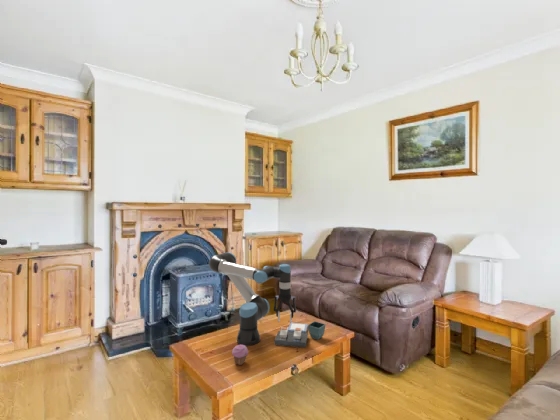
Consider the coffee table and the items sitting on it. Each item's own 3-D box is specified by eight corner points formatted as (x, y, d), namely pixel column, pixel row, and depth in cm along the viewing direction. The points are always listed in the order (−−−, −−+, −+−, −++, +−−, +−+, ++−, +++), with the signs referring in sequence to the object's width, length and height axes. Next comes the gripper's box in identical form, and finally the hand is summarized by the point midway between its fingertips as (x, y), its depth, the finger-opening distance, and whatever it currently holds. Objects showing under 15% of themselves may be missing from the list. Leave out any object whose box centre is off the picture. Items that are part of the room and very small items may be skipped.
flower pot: (319, 342, 199) (319, 328, 198) (307, 338, 204) (307, 325, 204) (325, 337, 206) (325, 324, 205) (314, 333, 211) (314, 321, 211)
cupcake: (229, 364, 171) (229, 346, 171) (238, 357, 178) (238, 340, 178) (241, 368, 166) (241, 350, 166) (251, 361, 174) (251, 344, 174)
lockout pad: (287, 332, 214) (287, 329, 214) (290, 324, 226) (290, 322, 226) (306, 333, 211) (306, 331, 211) (307, 325, 224) (307, 323, 224)
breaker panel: (274, 344, 194) (274, 338, 194) (278, 335, 208) (278, 329, 208) (305, 347, 191) (305, 340, 191) (307, 337, 205) (307, 331, 205)
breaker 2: (293, 338, 196) (293, 335, 195) (295, 330, 203) (294, 327, 203) (300, 339, 195) (300, 336, 194) (301, 330, 202) (301, 328, 202)
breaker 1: (279, 337, 197) (279, 334, 197) (281, 329, 205) (281, 326, 204) (286, 337, 196) (286, 335, 196) (288, 329, 204) (288, 326, 203)
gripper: (268, 288, 201) (268, 323, 201) (299, 290, 197) (299, 325, 198) (271, 285, 208) (270, 318, 209) (300, 287, 205) (300, 320, 205)
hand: (284, 321), depth 203 cm, fingers open, 8 cm apart
